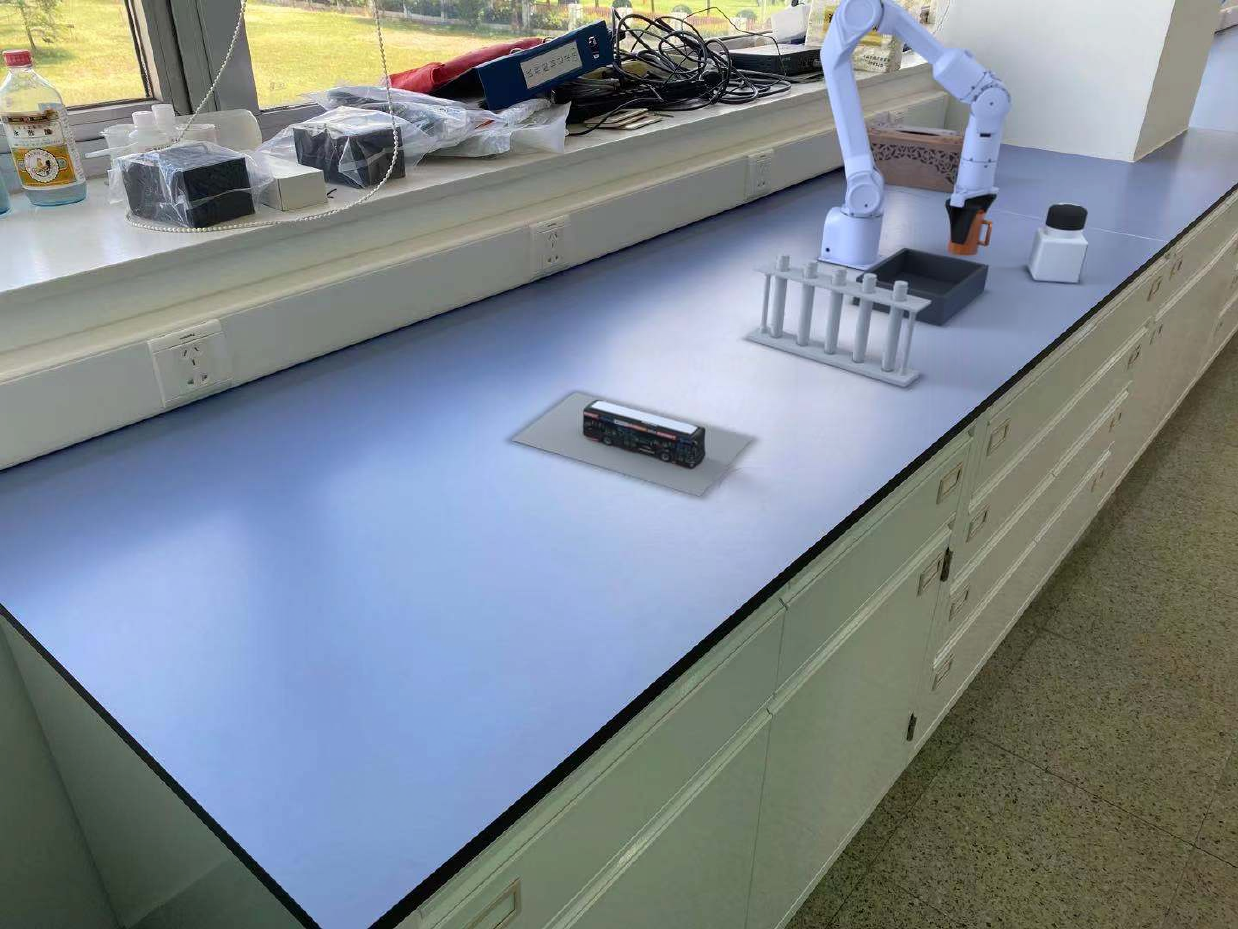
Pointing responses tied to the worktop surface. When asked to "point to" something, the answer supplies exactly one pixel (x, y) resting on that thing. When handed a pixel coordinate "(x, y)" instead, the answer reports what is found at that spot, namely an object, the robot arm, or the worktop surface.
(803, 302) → the test tube rack
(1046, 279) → the medicine bottle
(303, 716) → the worktop surface
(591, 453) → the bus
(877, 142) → the tissue box cover
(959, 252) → the cup
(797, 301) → the worktop surface
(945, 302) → the bin
